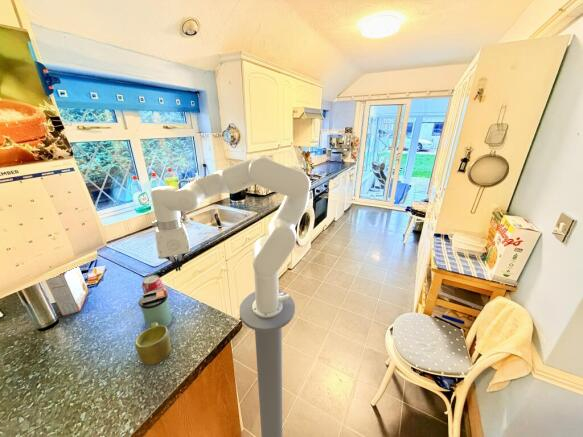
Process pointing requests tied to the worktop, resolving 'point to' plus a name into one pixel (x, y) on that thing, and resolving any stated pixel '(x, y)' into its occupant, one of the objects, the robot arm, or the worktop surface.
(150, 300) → the tumbler
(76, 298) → the cracker box
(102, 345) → the worktop surface
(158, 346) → the mug
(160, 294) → the slider
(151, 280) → the soda can
